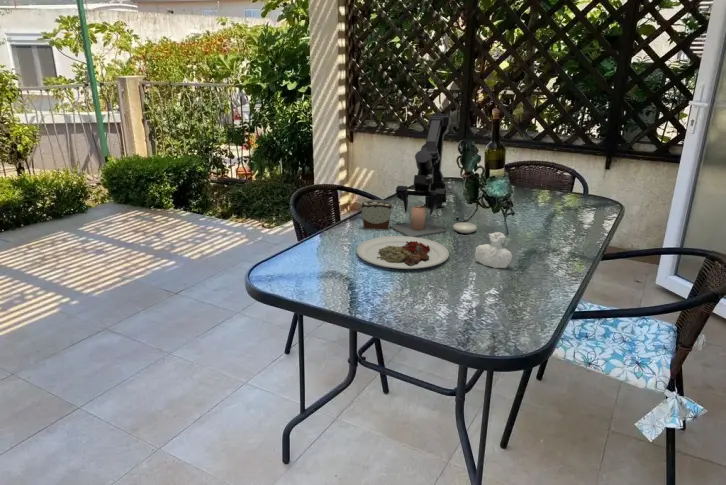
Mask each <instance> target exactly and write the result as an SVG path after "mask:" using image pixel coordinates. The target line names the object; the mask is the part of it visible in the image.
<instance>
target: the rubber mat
mask: <svg viewBox="0 0 726 485" xmlns="http://www.w3.org/2000/svg"><path fill="white" fill-rule="evenodd" d="M389 228H390V229H392V230H393V231H395V232H397V233H399V234H401V235H402V236H409V237H418V238H422V237H426V236H431V235H437V234H442V233H447V229H444V228H442V227H440V226H437V225H435V224H433V223H430V222H429V221H426V220H425V229H424V230H413V229H411V222H408V223H402V224H401V223H400V224H395V225H391V226H390V225H389Z"/></svg>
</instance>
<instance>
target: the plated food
mask: <svg viewBox="0 0 726 485" xmlns="http://www.w3.org/2000/svg"><path fill="white" fill-rule="evenodd" d="M356 254H357V255H358V257H359V258H360V259H362V260H363V261H364V262H367V263H369V264H371V265H372V264H373V265H375V266H378V267H384V268H392V269H401V270H402V269H403V270H404V269H405V270H412V269H416V270H417V269H424V268H425V269H426V268H430V267H434V266H437V265H438V266H439V265H441V264H442V263H444V262H445V261H446V260H448V258H449V256H450V252H449V250H448V248H447V247H446V246H444V245H443V244H441V243H439V242H436V241H434V240H432V239H431V240H430V239H428V238H422V237H409V236H405V235H389V236H388V235H387V236H381V237H380V236H379V237H375V238H371V239H368V240H366V241H363V242H362V243H360V244H359V245H358V246H357V247H356Z"/></svg>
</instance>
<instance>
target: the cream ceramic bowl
mask: <svg viewBox="0 0 726 485" xmlns="http://www.w3.org/2000/svg"><path fill="white" fill-rule="evenodd" d="M452 226H453V228H452V229H453V230H454V231H456V232H457V233H461V234H472V233H474V232H476V231H477V225H476V224H475V223H471V222H464V221H463V222H462V221H461V222H456V223H454V224H453V225H452Z"/></svg>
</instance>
